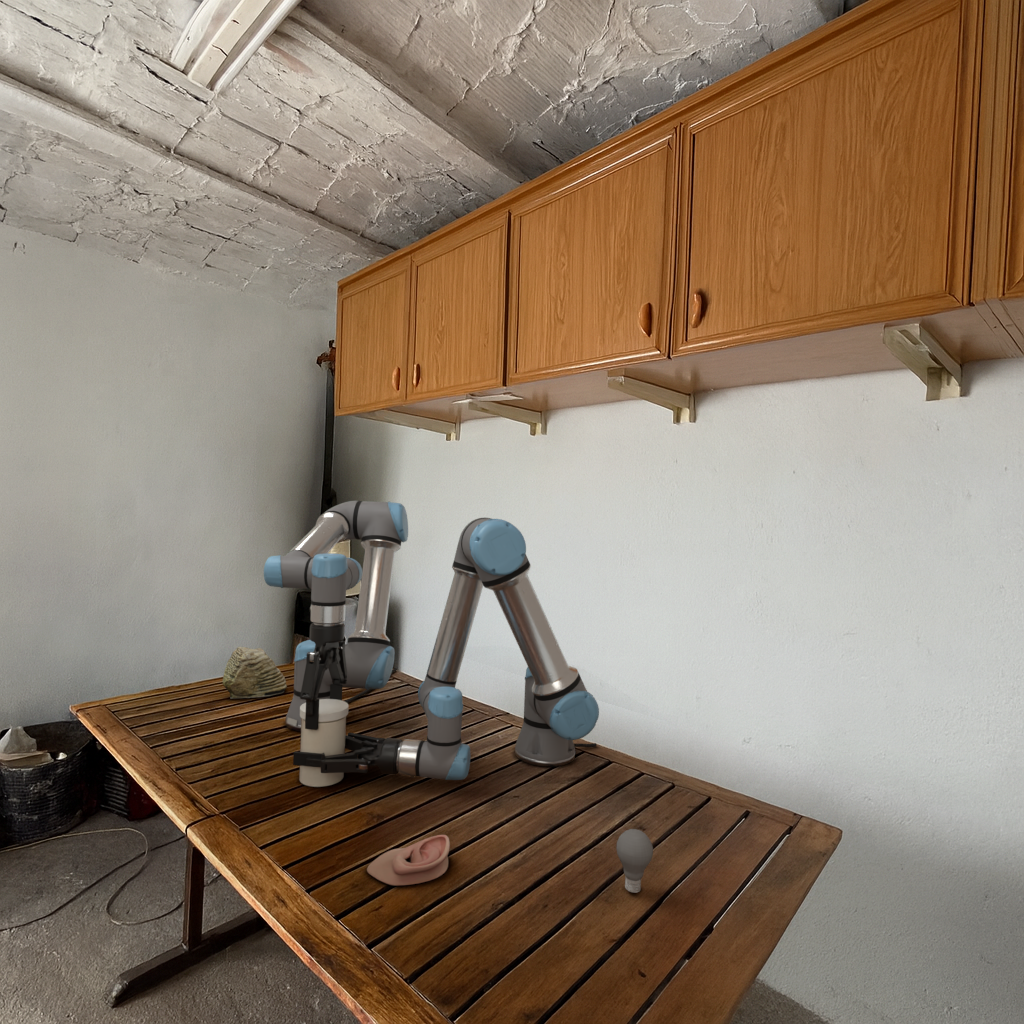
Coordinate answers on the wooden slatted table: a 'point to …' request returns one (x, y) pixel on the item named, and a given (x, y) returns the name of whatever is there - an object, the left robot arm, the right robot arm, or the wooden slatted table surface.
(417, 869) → the anatomical model
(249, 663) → the fossil
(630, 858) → the light bulb
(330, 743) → the jar
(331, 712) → the lid
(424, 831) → the wooden slatted table surface
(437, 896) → the wooden slatted table surface
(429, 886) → the wooden slatted table surface
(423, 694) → the right robot arm
